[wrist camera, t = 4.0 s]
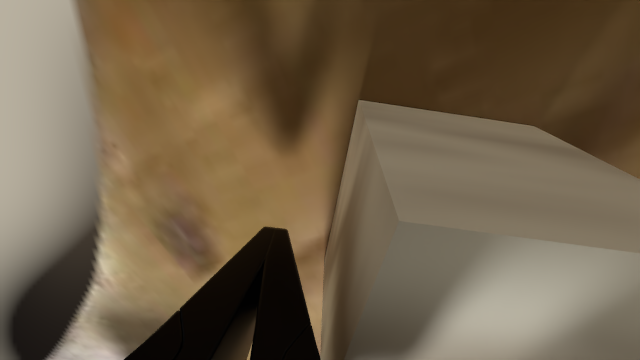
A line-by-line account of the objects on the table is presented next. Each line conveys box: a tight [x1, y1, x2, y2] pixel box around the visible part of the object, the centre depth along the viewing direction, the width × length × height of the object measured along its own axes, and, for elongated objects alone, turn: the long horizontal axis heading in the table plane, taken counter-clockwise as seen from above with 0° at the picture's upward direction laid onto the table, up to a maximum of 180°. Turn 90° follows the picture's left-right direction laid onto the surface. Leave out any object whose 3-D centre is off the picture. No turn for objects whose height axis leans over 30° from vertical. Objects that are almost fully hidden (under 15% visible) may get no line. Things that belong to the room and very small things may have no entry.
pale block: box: [320, 100, 640, 360], centre depth 8 cm, size 8×6×6 cm
